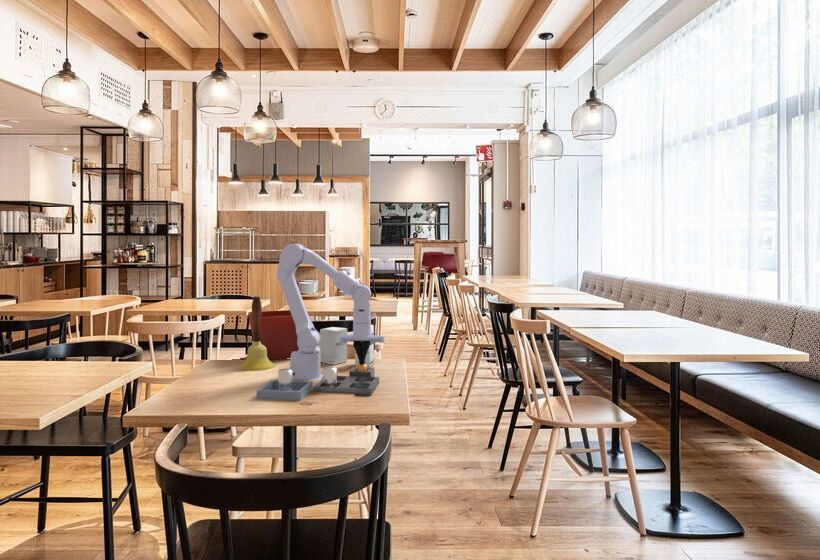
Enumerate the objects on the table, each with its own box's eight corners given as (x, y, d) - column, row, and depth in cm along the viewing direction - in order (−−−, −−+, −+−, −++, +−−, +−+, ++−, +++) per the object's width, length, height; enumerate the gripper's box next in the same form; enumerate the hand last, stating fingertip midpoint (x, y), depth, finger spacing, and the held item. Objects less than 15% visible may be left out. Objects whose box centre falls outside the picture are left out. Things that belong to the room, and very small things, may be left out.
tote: (256, 401, 170) (256, 390, 169) (271, 389, 182) (271, 380, 182) (300, 402, 168) (300, 391, 168) (312, 391, 181) (312, 381, 181)
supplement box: (335, 365, 217) (335, 330, 216) (319, 363, 221) (319, 328, 220) (347, 361, 224) (347, 328, 223) (332, 359, 228) (332, 326, 227)
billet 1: (276, 395, 173) (276, 371, 173) (281, 391, 177) (280, 368, 177) (290, 395, 173) (290, 371, 172) (294, 392, 177) (294, 368, 176)
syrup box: (370, 367, 215) (370, 326, 214) (354, 366, 216) (354, 326, 215) (374, 363, 220) (374, 324, 219) (358, 363, 222) (358, 323, 221)
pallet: (314, 393, 178) (314, 386, 178) (326, 381, 193) (326, 375, 193) (371, 395, 176) (371, 388, 176) (379, 383, 191) (379, 377, 191)
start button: (356, 375, 196) (356, 365, 195) (358, 372, 199) (358, 363, 199) (365, 375, 195) (366, 366, 195) (367, 373, 198) (367, 364, 198)
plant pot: (248, 353, 238) (247, 311, 237) (296, 350, 245) (296, 309, 244) (256, 363, 220) (255, 317, 219) (307, 359, 228) (307, 315, 227)
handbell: (278, 363, 220) (277, 295, 219) (271, 370, 208) (270, 298, 206) (244, 363, 220) (243, 295, 218) (235, 370, 208) (234, 298, 206)
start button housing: (349, 380, 194) (349, 371, 194) (353, 375, 201) (353, 367, 201) (370, 381, 193) (370, 372, 193) (374, 376, 200) (374, 367, 200)
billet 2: (322, 392, 179) (321, 369, 179) (325, 389, 183) (325, 366, 183) (335, 393, 179) (335, 369, 178) (338, 389, 183) (338, 366, 182)
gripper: (385, 321, 199) (385, 362, 200) (342, 320, 201) (342, 360, 201) (382, 324, 192) (382, 366, 193) (337, 323, 194) (338, 365, 194)
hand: (362, 364), depth 197 cm, fingers closed
